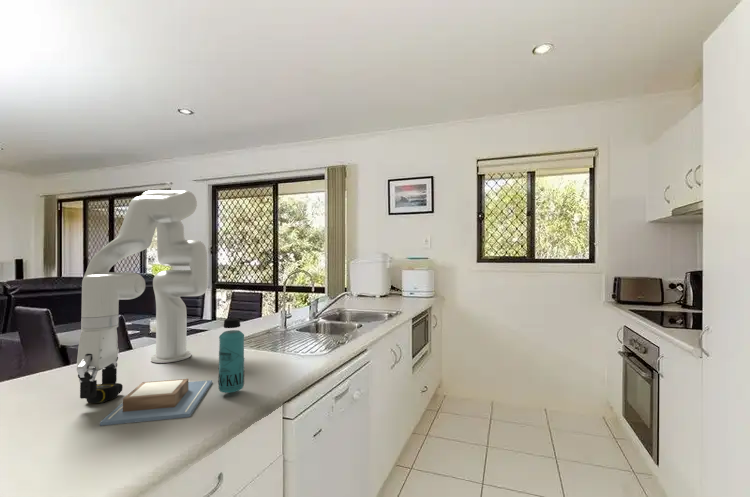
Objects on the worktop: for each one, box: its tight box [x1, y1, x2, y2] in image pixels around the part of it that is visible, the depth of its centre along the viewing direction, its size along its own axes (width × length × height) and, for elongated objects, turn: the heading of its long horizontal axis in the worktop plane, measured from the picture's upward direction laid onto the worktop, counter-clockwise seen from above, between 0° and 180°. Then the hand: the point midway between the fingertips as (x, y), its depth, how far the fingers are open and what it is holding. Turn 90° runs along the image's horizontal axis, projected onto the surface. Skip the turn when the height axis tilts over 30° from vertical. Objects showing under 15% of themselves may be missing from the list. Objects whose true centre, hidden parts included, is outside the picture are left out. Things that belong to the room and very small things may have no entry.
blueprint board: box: [99, 378, 213, 427], centre depth 90 cm, size 22×18×4 cm
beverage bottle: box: [217, 317, 246, 394], centre depth 95 cm, size 6×7×20 cm
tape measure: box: [84, 382, 124, 404], centre depth 91 cm, size 7×7×4 cm
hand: (99, 390), depth 90 cm, fingers open, 9 cm apart
